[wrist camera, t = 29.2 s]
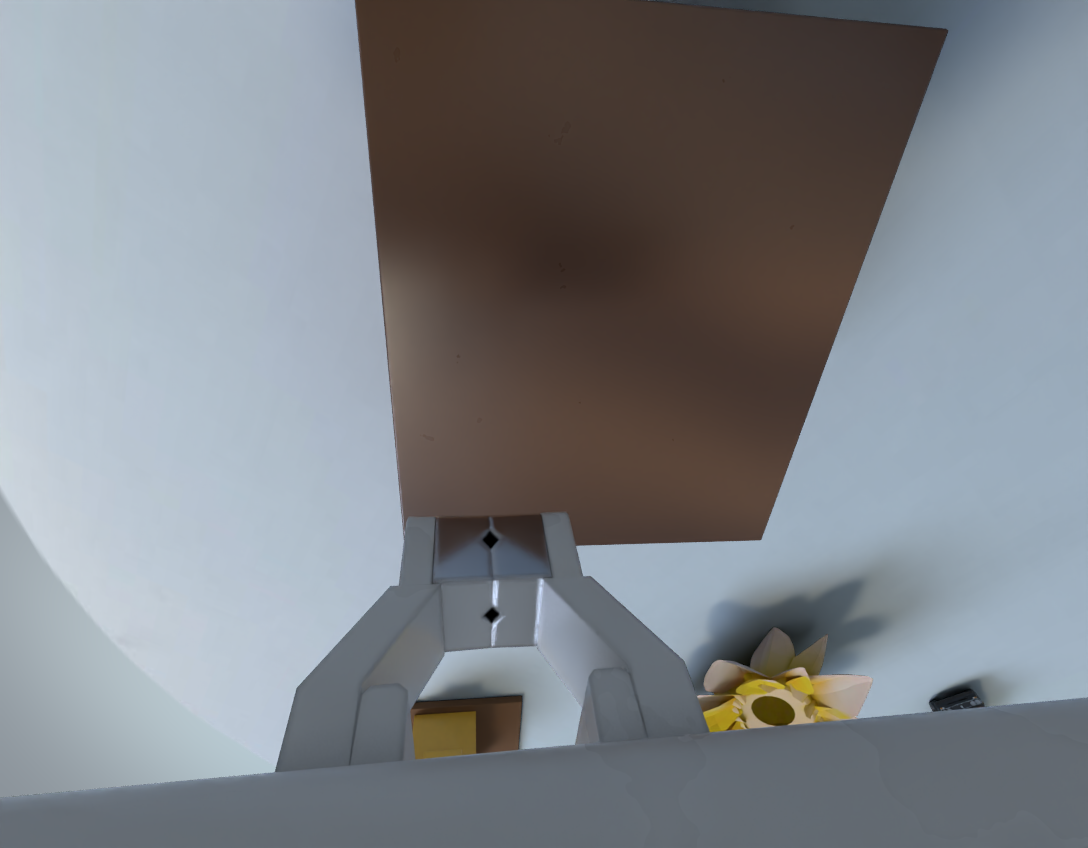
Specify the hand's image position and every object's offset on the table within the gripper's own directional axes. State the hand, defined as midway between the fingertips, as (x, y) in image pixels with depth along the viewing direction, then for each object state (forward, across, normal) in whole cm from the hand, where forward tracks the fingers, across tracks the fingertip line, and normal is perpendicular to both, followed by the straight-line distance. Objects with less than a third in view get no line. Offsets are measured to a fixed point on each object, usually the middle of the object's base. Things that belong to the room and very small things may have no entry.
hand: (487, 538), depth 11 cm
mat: (+14, +2, +34) cm, 37 cm away
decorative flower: (+14, -19, +28) cm, 37 cm away
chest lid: (+8, -4, -1) cm, 9 cm away
